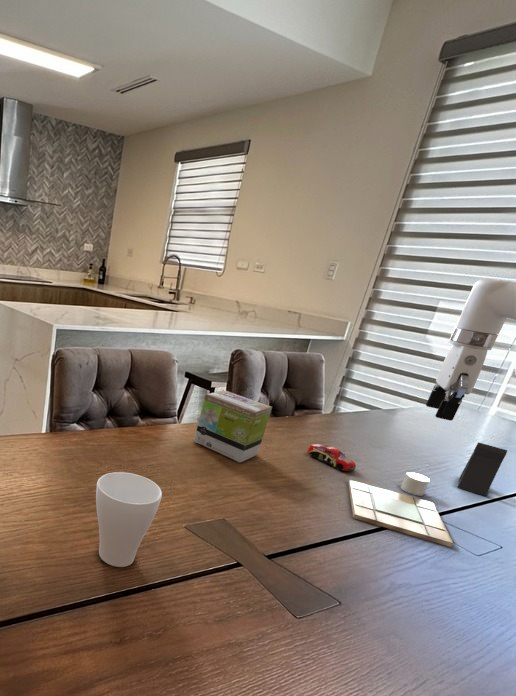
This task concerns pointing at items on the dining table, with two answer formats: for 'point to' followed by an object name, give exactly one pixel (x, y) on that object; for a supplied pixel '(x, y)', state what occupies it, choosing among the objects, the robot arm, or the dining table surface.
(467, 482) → the phone stand
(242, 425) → the tea box
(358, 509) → the board
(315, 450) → the race car
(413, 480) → the white cylinder puck
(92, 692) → the dining table surface
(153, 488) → the cup
